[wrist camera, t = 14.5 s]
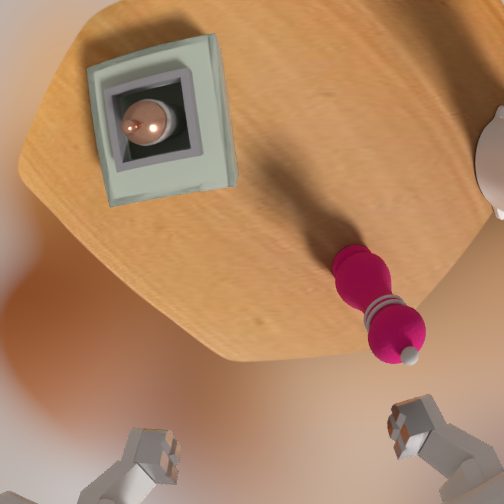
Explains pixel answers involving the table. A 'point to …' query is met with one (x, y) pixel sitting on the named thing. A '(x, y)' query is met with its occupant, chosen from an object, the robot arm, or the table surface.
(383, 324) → the pepper mill
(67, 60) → the table surface
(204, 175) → the green square holder
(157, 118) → the canister
